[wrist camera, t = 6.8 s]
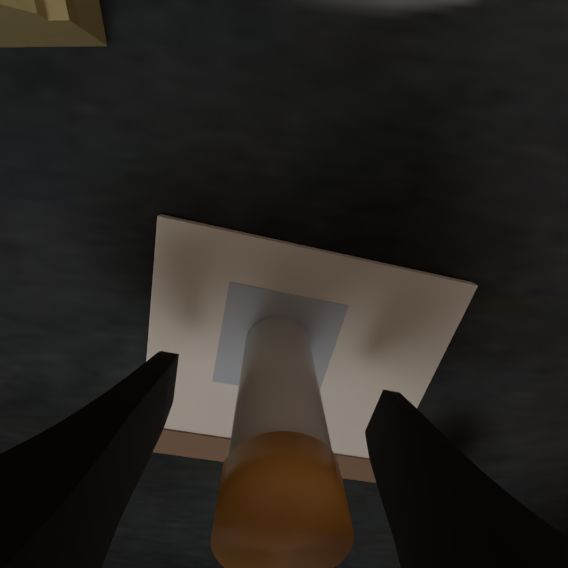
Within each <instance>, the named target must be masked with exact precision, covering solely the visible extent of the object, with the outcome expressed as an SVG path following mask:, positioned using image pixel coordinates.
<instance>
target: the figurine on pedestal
mask: <svg viewBox="0 0 568 568" xmlns="http://www.w3.org/2000/svg"><path fill="white" fill-rule="evenodd" d="M71 46H108V45H107V40H106V35H105V29H104V24H103V19H102V14H101V8H100V3H99V0H0V47H71Z"/></svg>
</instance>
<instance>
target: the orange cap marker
mask: <svg viewBox="0 0 568 568" xmlns="http://www.w3.org/2000/svg"><path fill="white" fill-rule="evenodd" d="M353 542H354V531H353V526H352V522H351V517H350V513H349V508H348V503H347V499H346V494H345V490H344V485H343V481H342V476H341V471H340V467H339V463H338V460H337V457H336V455H335V454H334V452H333V451H332V448H331V443H330V438H329V433H328V428H327V423H326V418H325V413H324V409H323V404H322V399H321V394H320V389H319V384H318V379H317V375H316V370H315V365H314V360H313V355H312V350H311V345H310V340H309V336H308V333H307V331H306V330H305V328H304V327H303V326H302V325H301V324H300V323H299V322H297V321H296V320H294V319H292V318H289V317H285V316H271V317H267V318H264V319H262V320H260V321H258V322H257V323H255V324H254V325H253V326H252V327H251V329H250V330H249V332H248V334H247V336H246V341H245V347H244V354H243V361H242V368H241V374H240V381H239V388H238V394H237V401H236V408H235V414H234V421H233V428H232V434H231V441H230V448H229V455H228V456H227V458H226V460H225V462H224V464H223V468H222V474H221V480H220V486H219V492H218V498H217V504H216V511H215V517H214V523H213V529H212V535H211V549H212V552H213V554H214V556H215V558H216V559H217V560H218V562H219V563H220V564H221V565H222V566H223V567H224V568H335V567H336V566H337V565H339V564H340V563H341V562H342V561H343V560H344V559H345V558H346V557H347V555H348V554H349V552H350V551H351V548H352V546H353Z"/></svg>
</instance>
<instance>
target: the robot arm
mask: <svg viewBox="0 0 568 568" xmlns="http://www.w3.org/2000/svg"><path fill="white" fill-rule="evenodd" d="M178 358H179V354H176V353H170V352H164V351H159V352H158V353H156V354H155V355H154V356H153V357H151V358H150V359H149V360H148V361H146V362H145V363H144V364H143V365H141V366H140V367H139V368H138V369H136V370H135V371H134V372H133V373H131V374H130V375H129V376H127V377H126V378H125V379H123V380H122V381H121V382H119V383H118V384H117V385H115V386H114V387H112V388H111V389H110V390H108V391H107V392H105V393H104V394H103V395H101V396H100V397H98V398H97V399H95V400H94V401H92V402H91V403H89V404H88V405H86V406H85V407H83V408H82V409H80V410H79V411H77V412H75V413H74V414H72V415H71V416H69V417H67V418H66V419H64V420H62V421H61V422H59V423H57V424H56V425H54V426H52V427H50V428H49V429H47V430H45V431H43V432H42V433H40V434H38V435H36V436H34V437H32V438H31V439H29V440H27V441H25V442H23V443H21V444H19V445H17V446H15V447H13V448H11V449H9V450H7V451H5V452H3V453H1V454H0V568H101V567H102V564H103V562H104V559H105V556H106V554H107V551H108V549H109V546H110V544H111V541H112V539H113V536H114V534H115V531H116V529H117V526H118V523H119V521H120V519H121V516H122V514H123V512H124V510H125V508H126V505H127V503H128V501H129V499H130V497H131V495H132V493H133V491H134V489H135V487H136V485H137V483H138V481H139V479H140V477H141V474H142V472H143V470H144V468H145V466H146V464H147V462H148V460H149V458H150V456H151V454H152V452H153V450H154V448H155V446H156V444H157V442H158V440H159V438H160V436H161V433H162V431H163V429H164V426H165V423H166V421H167V418H168V415H169V412H170V409H171V407H172V404H173V399H174V391H175V383H176V375H177V367H178ZM365 436H366V442H367V448H368V453H369V459H370V463H371V466H372V470H373V473H374V477H375V480H376V483H377V486H378V490H379V493H380V496H381V499H382V502H383V506H384V509H385V512H386V515H387V518H388V522H389V525H390V528H391V531H392V534H393V538H394V541H395V545H396V549H397V552H398V557H399V561H400V566H401V568H568V538H566V537H565V536H564V535H562V534H561V533H560V532H558V531H557V530H556V529H554V528H553V527H551V526H550V525H549V524H547V523H546V522H545V521H543V520H542V519H541V518H539V517H538V516H536V515H535V514H534V513H533V512H531V511H530V510H529V509H527V508H526V507H525V506H523V505H522V504H521V503H520V502H518V501H517V500H516V499H515V498H513V497H512V496H511V495H510V494H509V493H507V492H506V491H505V490H504V489H502V488H501V487H500V486H499V485H498V484H496V483H495V482H494V481H493V480H492V479H490V478H489V477H488V476H487V475H486V474H485V473H484V472H482V471H481V470H480V469H479V468H478V467H477V466H476V465H475V464H474V463H472V462H471V461H470V460H469V459H468V458H467V457H466V456H465V455H464V454H463V453H462V452H460V451H459V450H458V449H457V448H456V447H455V446H454V445H453V444H452V443H451V442H450V441H449V440H448V439H447V438H446V437H445V436H444V435H443V434H442V433H441V432H440V431H439V430H438V429H437V428H436V427H435V426H434V425H433V424H432V423H431V422H430V421H429V420H428V419H427V418H426V417H425V416H424V415H423V414H422V413H421V412H420V411H419V410H418V409H417V408H416V407H415V406H414V405H413V404H411V403H410V402H409V401H408V400H407V399H406V398H405V397H404V396H403V395H402V394H401V393H399V392H395V391H389V390H383V391H382V393H381V396H380V398H379V400H378V403H377V405H376V407H375V410H374V412H373V414H372V416H371V419H370V421H369V423H368V426H367V428H366V430H365Z"/></svg>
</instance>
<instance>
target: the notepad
mask: <svg viewBox="0 0 568 568" xmlns="http://www.w3.org/2000/svg"><path fill="white" fill-rule="evenodd" d="M477 287H478V285H476V284H474V283H473V282H469V281H465V280H460V279H456V278H451V277H446V276H442V275H437V274H433V273H428V272H423V271H419V270H414V269H410V268H405V267H401V266H396V265H391V264H387V263H382V262H378V261H373V260H369V259H364V258H359V257H355V256H350V255H346V254H341V253H337V252H332V251H327V250H323V249H318V248H314V247H309V246H304V245H300V244H295V243H291V242H286V241H282V240H277V239H272V238H268V237H263V236H259V235H254V234H250V233H245V232H240V231H236V230H231V229H227V228H222V227H217V226H213V225H208V224H204V223H199V222H195V221H190V220H185V219H181V218H176V217H172V216H167V215H163V214H160V215H158V216H157V227H156V241H155V254H154V267H153V280H152V294H151V307H150V320H149V333H148V347H147V360H146V361H148V360H149V359H150V358H151V357H153V356H154V355H155V354H156V353H158V352H159V351H164V352H170V353H176V354H179V358H178V367H177V375H176V383H175V391H174V399H173V404H172V407H171V409H170V412H169V415H168V418H167V421H166V423H165V426H164V429H163V431H162V433H161V436H160V438H159V440H158V442H157V444H156V446H155V448H154V450H153V452H156V453H163V454H170V455H178V456H185V457H192V458H199V459H207V460H214V461H221V462H225V460H226V458H227V456H228V455H229V448H230V441H231V434H232V428H233V421H234V414H235V408H236V401H237V394H238V388H239V381H240V374H241V368H242V361H243V354H244V347H245V341H246V336H247V334H248V332H249V330H250V329H251V327H252V326H253V325H254V324H255V323H257V322H258V321H260V320H262V319H264V318H267V317H271V316H285V317H289V318H292V319H294V320H296V321H297V322H299V323H300V324H301V325H302V326H303V327H304V328H305V330H306V331H307V333H308V336H309V340H310V345H311V350H312V355H313V360H314V365H315V370H316V375H317V379H318V384H319V389H320V394H321V399H322V404H323V409H324V413H325V418H326V423H327V428H328V433H329V438H330V443H331V448H332V451H333V452H334V454H335V455H336V457H337V460H338V463H339V467H340V471H341V476H342V478H345V479H352V480H359V481H367V482H374V483H376V480H375V477H374V473H373V470H372V466H371V463H370V459H369V453H368V448H367V442H366V436H365V430H366V428H367V426H368V423H369V421H370V419H371V416H372V414H373V412H374V410H375V407H376V405H377V403H378V400H379V398H380V396H381V393H382V391H383V390H389V391H395V392H399V393H401V394H402V395H403V396H404V397H405V398H406V399H407V400H408V401H409V402H410V403H411V404H413V405H414V406H415V407H416V408H417V407H418V405H419V403H420V401H421V399H422V397H423V395H424V393H425V391H426V389H427V387H428V385H429V383H430V381H431V379H432V377H433V375H434V373H435V371H436V369H437V367H438V365H439V363H440V361H441V359H442V357H443V355H444V353H445V351H446V349H447V347H448V345H449V343H450V341H451V339H452V337H453V335H454V333H455V331H456V329H457V327H458V325H459V323H460V321H461V319H462V317H463V315H464V313H465V311H466V309H467V307H468V305H469V303H470V301H471V299H472V297H473V295H474V293H475V291H476V289H477Z"/></svg>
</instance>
